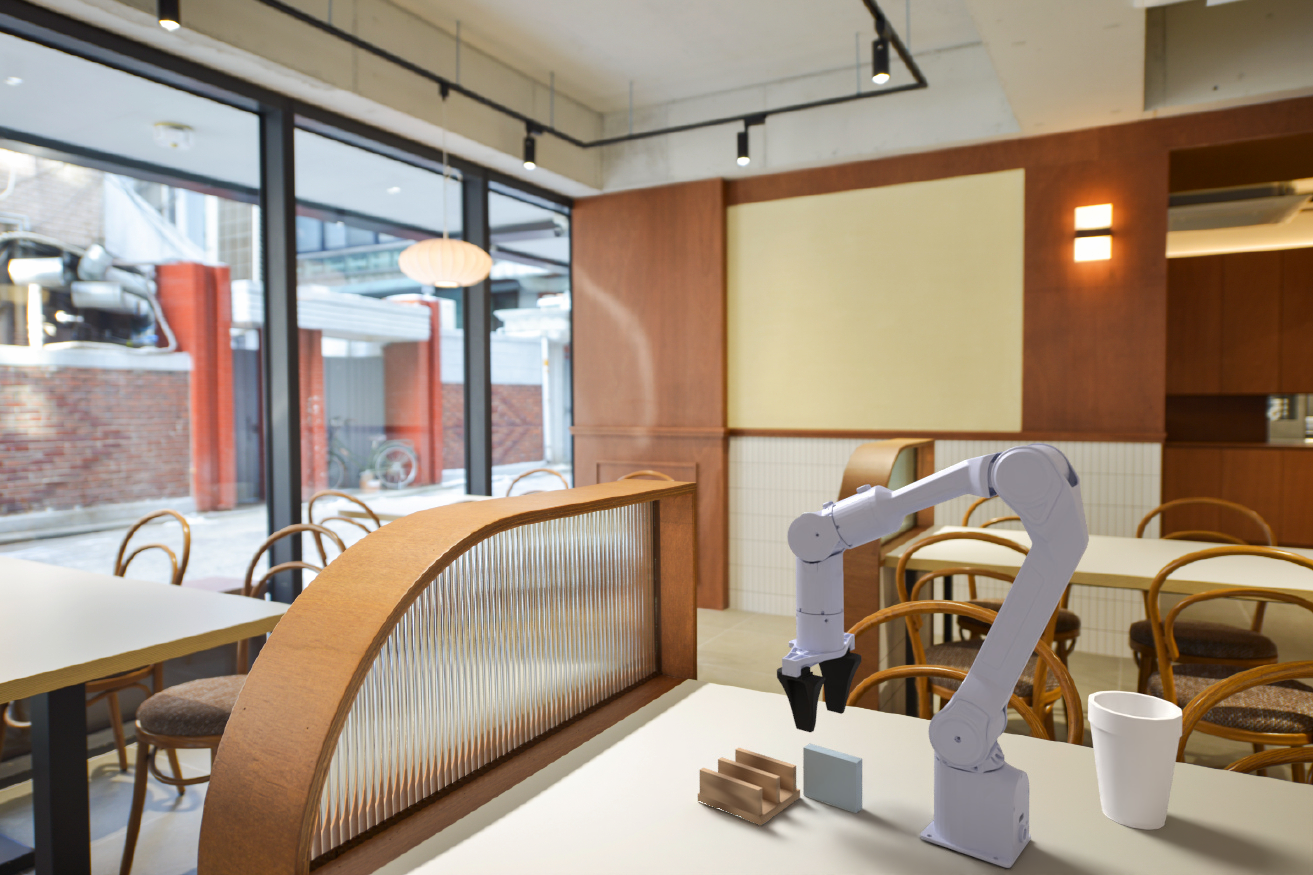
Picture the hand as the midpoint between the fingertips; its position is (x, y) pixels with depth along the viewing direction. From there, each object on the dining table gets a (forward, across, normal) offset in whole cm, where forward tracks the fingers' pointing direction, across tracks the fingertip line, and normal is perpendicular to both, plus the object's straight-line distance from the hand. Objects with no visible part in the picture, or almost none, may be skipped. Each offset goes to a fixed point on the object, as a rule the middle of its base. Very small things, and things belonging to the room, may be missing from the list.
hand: (820, 720), depth 98 cm
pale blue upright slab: (+10, 0, +2) cm, 10 cm away
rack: (+9, +6, -6) cm, 13 cm away
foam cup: (+10, -19, +30) cm, 37 cm away
